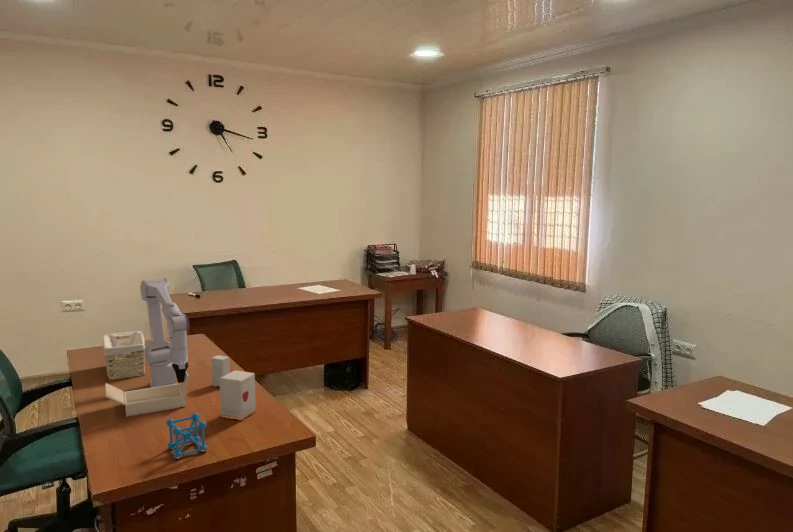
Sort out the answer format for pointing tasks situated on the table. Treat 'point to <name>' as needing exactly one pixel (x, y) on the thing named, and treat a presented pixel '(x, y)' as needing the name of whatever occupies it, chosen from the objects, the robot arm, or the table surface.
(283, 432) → the table surface
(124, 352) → the storage basket
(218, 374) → the skincare box
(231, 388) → the supplement box
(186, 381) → the carton flap
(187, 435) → the molecular structure
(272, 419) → the table surface
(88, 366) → the table surface
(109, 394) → the carton flap
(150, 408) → the carton
